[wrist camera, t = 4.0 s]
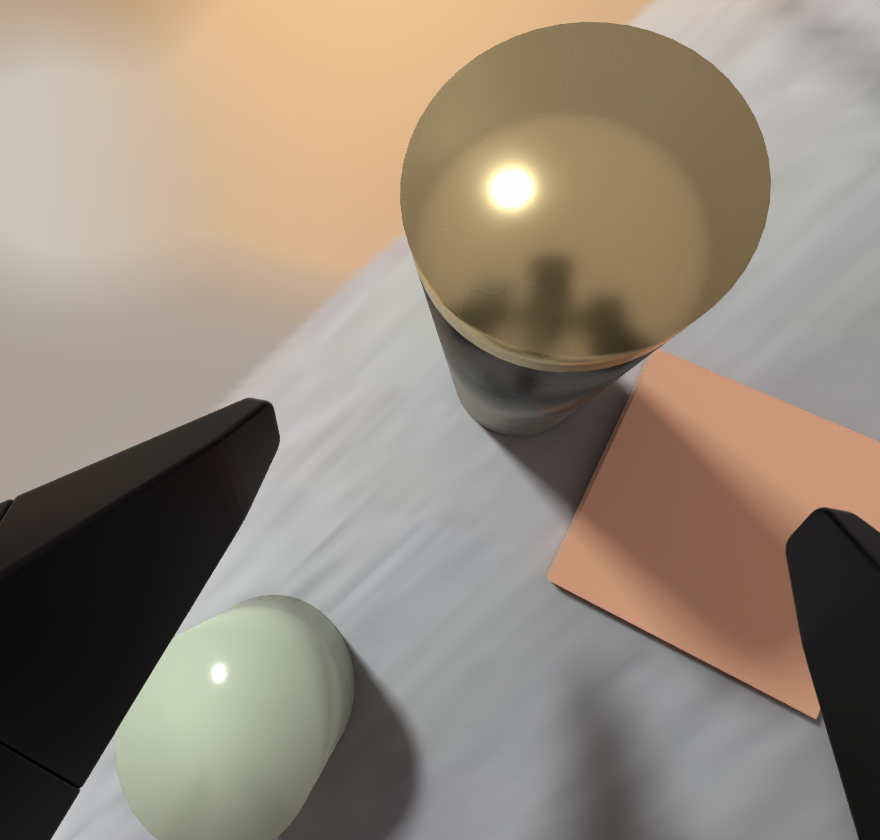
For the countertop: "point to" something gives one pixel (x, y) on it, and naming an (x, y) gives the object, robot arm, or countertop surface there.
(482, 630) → the countertop surface
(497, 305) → the canister
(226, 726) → the pale green rounded piece
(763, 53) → the countertop surface
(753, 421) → the plate
